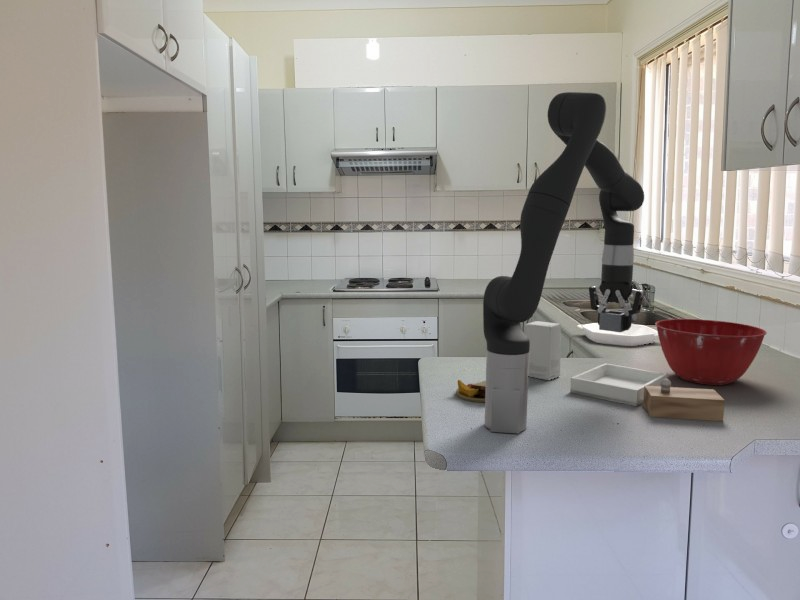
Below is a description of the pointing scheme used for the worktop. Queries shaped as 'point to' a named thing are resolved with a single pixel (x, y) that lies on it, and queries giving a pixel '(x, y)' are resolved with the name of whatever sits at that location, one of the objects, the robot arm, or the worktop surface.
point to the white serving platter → (620, 335)
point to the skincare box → (544, 349)
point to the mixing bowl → (709, 349)
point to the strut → (613, 321)
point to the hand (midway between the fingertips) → (613, 328)
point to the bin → (616, 383)
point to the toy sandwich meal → (472, 391)
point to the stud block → (683, 402)
